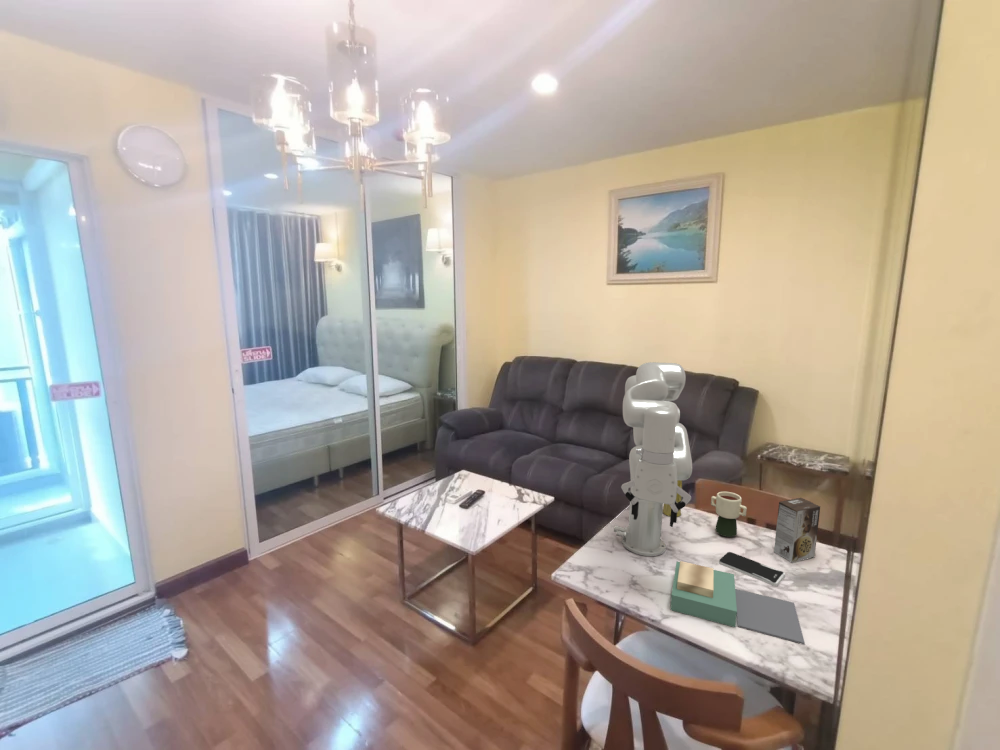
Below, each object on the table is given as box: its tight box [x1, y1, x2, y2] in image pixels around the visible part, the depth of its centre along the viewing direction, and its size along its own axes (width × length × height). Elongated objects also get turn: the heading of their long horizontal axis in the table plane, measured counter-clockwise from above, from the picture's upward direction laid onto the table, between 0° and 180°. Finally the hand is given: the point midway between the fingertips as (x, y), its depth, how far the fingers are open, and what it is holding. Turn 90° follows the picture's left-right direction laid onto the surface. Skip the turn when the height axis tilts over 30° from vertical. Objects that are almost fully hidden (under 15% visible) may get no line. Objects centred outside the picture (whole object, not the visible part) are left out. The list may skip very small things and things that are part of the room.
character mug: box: [710, 491, 748, 538], centre depth 146 cm, size 11×7×13 cm, turn 41°
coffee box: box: [773, 497, 821, 563], centre depth 134 cm, size 9×6×16 cm
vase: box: [662, 480, 683, 518], centre depth 160 cm, size 6×6×14 cm
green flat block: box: [670, 561, 737, 628], centre depth 115 cm, size 14×16×4 cm
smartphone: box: [718, 551, 786, 587], centre depth 128 cm, size 8×1×15 cm
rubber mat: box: [735, 588, 806, 645], centre depth 109 cm, size 13×15×1 cm
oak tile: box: [677, 560, 715, 598], centre depth 115 cm, size 8×10×2 cm
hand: (653, 520), depth 117 cm, fingers open, 8 cm apart
